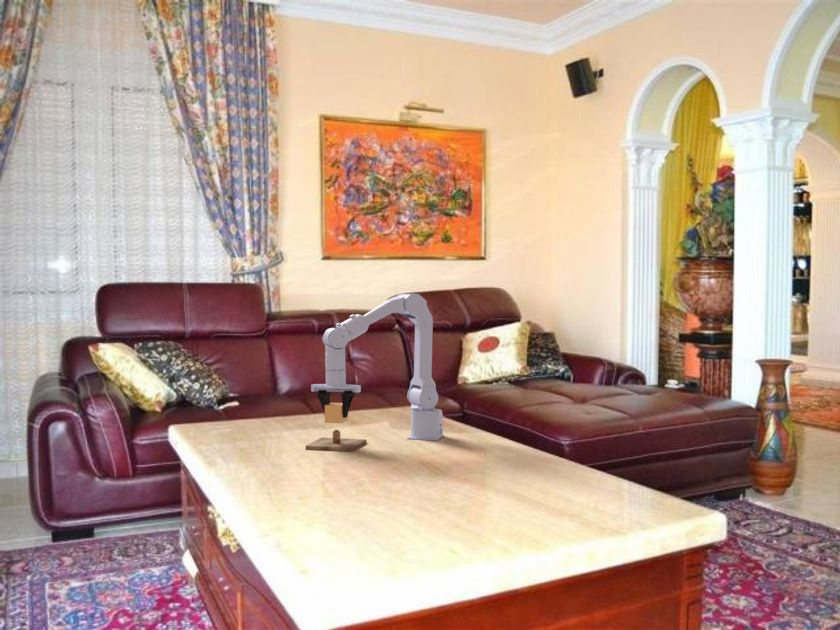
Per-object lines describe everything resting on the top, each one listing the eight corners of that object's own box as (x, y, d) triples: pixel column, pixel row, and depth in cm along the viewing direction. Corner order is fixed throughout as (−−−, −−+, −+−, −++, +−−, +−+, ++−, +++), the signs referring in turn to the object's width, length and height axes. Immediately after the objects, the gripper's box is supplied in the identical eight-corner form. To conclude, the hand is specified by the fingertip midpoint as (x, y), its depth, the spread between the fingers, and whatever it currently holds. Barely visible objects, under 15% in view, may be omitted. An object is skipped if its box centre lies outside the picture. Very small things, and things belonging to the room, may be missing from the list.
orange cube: (347, 420, 215) (347, 403, 214) (341, 423, 210) (341, 405, 210) (331, 419, 216) (331, 402, 216) (324, 422, 211) (324, 405, 211)
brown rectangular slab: (366, 442, 217) (366, 426, 217) (352, 451, 205) (352, 434, 205) (322, 441, 221) (321, 425, 221) (305, 449, 209) (305, 432, 209)
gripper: (306, 370, 210) (307, 418, 211) (354, 371, 207) (355, 420, 207) (316, 368, 217) (316, 414, 218) (363, 369, 213) (363, 415, 214)
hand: (336, 416), depth 213 cm, fingers closed on orange cube, 5 cm apart
